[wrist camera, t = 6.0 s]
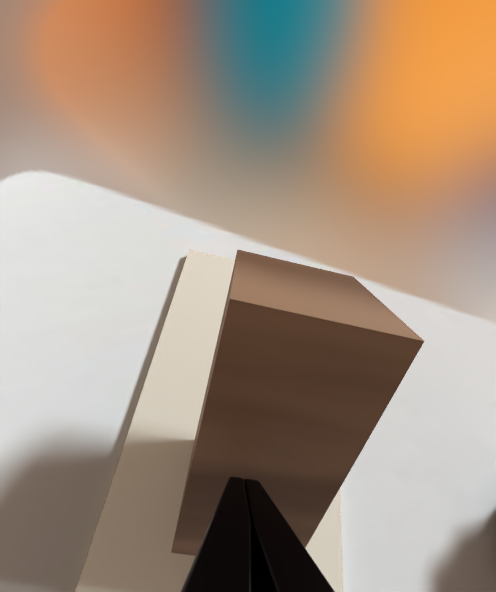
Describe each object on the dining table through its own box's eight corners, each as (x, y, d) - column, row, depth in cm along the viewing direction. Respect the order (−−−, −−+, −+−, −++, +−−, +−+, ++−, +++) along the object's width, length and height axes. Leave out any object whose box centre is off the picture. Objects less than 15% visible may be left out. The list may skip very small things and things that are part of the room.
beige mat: (338, 669, 11) (345, 680, 11) (61, 642, 10) (54, 652, 10) (329, 287, 21) (333, 282, 20) (189, 254, 20) (189, 249, 20)
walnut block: (293, 568, 10) (424, 341, 6) (171, 552, 10) (229, 298, 6) (280, 454, 14) (353, 276, 10) (194, 439, 14) (237, 249, 10)
